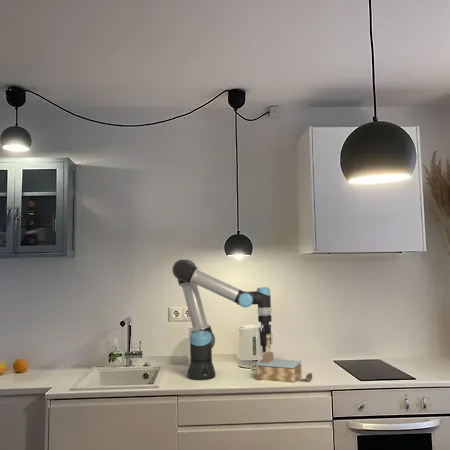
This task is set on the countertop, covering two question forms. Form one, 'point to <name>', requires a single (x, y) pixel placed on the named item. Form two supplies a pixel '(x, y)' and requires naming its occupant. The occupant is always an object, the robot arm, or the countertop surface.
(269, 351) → the beige wooden tall block
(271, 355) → the lid
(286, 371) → the toolbox
